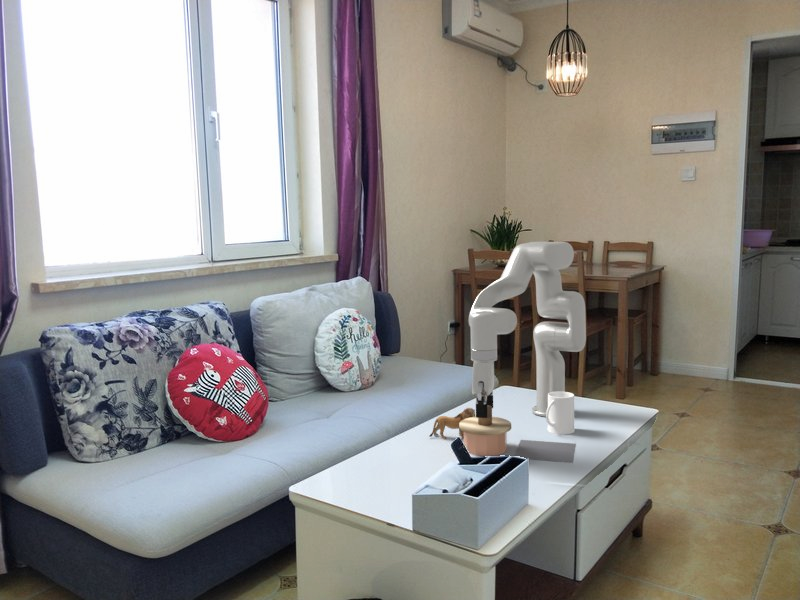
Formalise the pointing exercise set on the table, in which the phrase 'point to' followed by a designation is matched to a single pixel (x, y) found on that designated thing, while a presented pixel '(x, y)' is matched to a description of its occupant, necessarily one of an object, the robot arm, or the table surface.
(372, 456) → the table surface
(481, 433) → the lid
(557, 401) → the mug
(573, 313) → the robot arm
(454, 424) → the lion figurine
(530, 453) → the mat
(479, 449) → the bowl
